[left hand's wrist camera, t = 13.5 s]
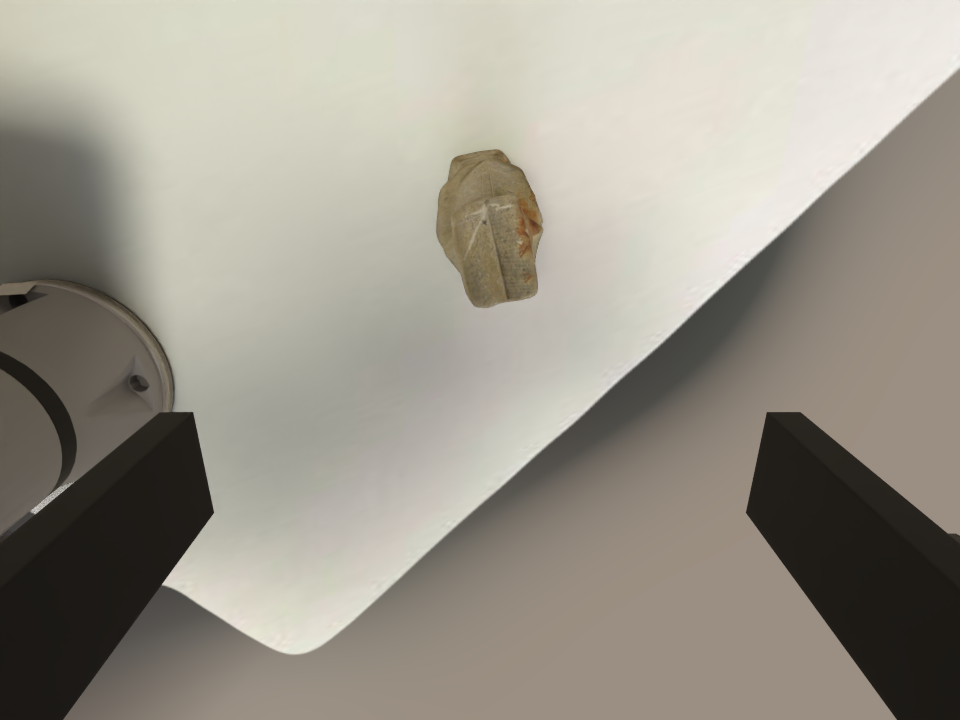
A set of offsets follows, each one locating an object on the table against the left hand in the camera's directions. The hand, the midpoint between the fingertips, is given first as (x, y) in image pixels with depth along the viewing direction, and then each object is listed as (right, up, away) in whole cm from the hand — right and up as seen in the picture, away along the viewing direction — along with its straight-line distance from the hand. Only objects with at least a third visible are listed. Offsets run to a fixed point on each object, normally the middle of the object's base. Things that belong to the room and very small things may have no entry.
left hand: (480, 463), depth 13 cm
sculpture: (0, +13, +26) cm, 29 cm away
